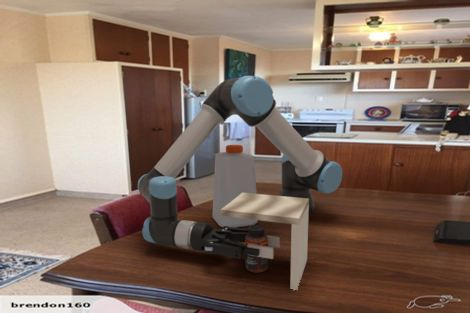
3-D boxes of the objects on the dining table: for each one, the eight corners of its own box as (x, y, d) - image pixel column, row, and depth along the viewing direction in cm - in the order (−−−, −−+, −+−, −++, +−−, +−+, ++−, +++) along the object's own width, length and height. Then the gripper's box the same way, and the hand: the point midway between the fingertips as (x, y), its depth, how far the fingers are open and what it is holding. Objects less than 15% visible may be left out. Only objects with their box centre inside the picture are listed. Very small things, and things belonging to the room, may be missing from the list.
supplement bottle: (270, 264, 88) (270, 224, 86) (265, 275, 82) (265, 233, 80) (249, 261, 90) (249, 221, 88) (242, 271, 84) (242, 230, 82)
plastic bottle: (210, 216, 125) (208, 144, 120) (246, 212, 130) (246, 142, 125) (221, 230, 111) (219, 149, 106) (262, 225, 116) (262, 147, 111)
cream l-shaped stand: (222, 276, 82) (220, 209, 79) (242, 249, 96) (242, 192, 94) (297, 290, 75) (298, 218, 72) (307, 259, 90) (308, 198, 87)
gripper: (209, 235, 100) (283, 246, 92) (178, 263, 83) (266, 280, 75) (209, 212, 99) (284, 220, 91) (177, 235, 82) (266, 249, 74)
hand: (276, 247), depth 83 cm, fingers closed on supplement bottle, 6 cm apart
